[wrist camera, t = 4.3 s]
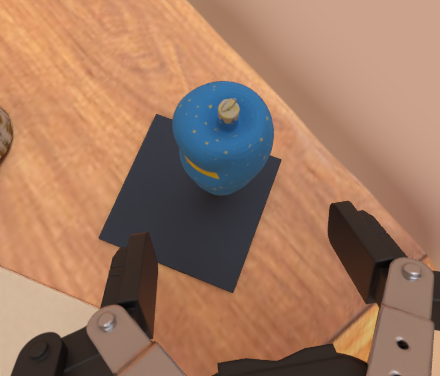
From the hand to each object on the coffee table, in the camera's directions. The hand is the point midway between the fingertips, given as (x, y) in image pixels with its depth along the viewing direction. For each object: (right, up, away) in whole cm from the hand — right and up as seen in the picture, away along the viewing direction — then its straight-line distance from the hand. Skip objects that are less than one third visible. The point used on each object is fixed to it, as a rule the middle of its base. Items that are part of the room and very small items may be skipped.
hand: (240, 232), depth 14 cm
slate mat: (-3, +1, +14) cm, 14 cm away
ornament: (-1, +2, +14) cm, 14 cm away
